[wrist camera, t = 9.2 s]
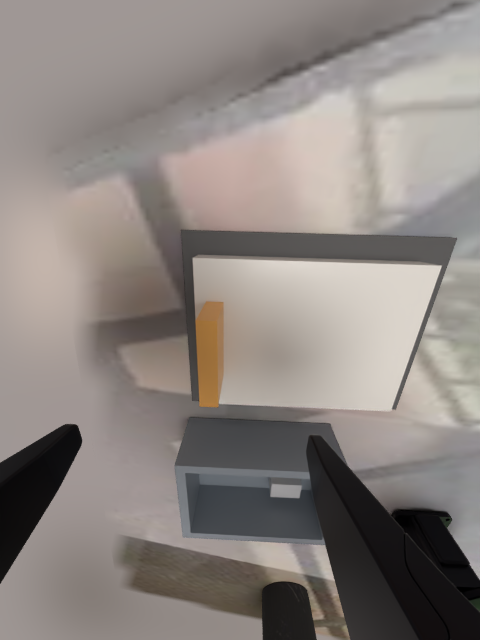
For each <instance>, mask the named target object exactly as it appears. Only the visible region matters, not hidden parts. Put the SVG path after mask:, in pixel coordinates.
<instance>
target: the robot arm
mask: <svg viewBox="0 0 480 640" xmlns="http://www.w3.org/2000/svg"><path fill="white" fill-rule="evenodd" d="M81 444H82V437H81V434H80V431H79V428H78V426H77V425H75V424H65V425H63V426H61V427H59V428H58V429H56V430H54V431H53V432H51V433H49V434H48V435H46V436H44V437H43V438H41V439H39V440H38V441H36V442H34V443H33V444H31V445H29V446H28V447H26V448H24V449H23V450H21V451H19V452H17V453H16V454H14V455H13V456H11V457H9V458H7V459H6V460H4V461H2V462H1V463H0V583H1V581H2V580H3V579H4V577H5V575H6V574H7V572H8V570H9V569H10V567H11V566H12V564H13V562H14V561H15V559H16V558H17V556H18V554H19V553H20V551H21V550H22V548H23V546H24V545H25V543H26V541H27V540H28V538H29V537H30V535H31V533H32V532H33V530H34V529H35V527H36V525H37V524H38V522H39V520H40V519H41V517H42V516H43V514H44V512H45V511H46V509H47V508H48V506H49V504H50V503H51V501H52V499H53V498H54V496H55V494H56V493H57V491H58V489H59V487H60V486H61V484H62V482H63V480H64V478H65V476H66V474H67V472H68V470H69V468H70V466H71V465H72V463H73V461H74V459H75V456H76V455H77V453H78V451H79V449H80V447H81ZM306 456H307V462H308V468H309V474H310V481H311V487H312V493H313V498H314V503H315V507H316V511H317V515H318V519H319V523H320V526H321V530H322V534H323V538H324V541H325V545H326V549H327V553H328V556H329V560H330V564H331V568H332V572H333V575H334V579H335V583H336V587H337V590H338V594H339V598H340V602H341V605H342V609H343V613H344V617H345V621H346V624H347V628H348V632H349V636H350V639H351V640H480V580H479V578H478V577H477V575H476V574H475V572H474V571H473V569H472V568H471V566H470V565H469V564H470V563H469V561H468V559H467V558H466V556H465V555H464V553H463V552H462V550H461V549H460V547H459V546H458V544H457V543H456V541H455V540H454V538H453V537H452V535H451V534H450V532H449V531H448V529H447V527H448V526H449V524H450V522H451V521H452V518H451V516H450V515H449V514H448V513H432V512H413V511H396V512H394V514H393V516H391V515H390V514H389V513H388V512H387V510H386V509H385V508H384V507H383V506H382V505H381V504H380V502H379V501H378V500H377V499H376V498H375V497H374V496H373V494H372V493H371V492H370V491H369V490H368V489H367V488H366V486H365V485H364V484H363V483H362V482H361V481H360V480H359V478H358V477H357V476H356V475H355V474H354V473H353V471H352V470H351V469H350V468H349V467H348V466H347V465H346V463H345V462H344V461H343V460H342V459H341V458H340V457H339V455H338V454H337V453H336V452H335V451H334V450H333V449H332V447H331V446H330V445H329V444H328V443H327V442H326V441H325V439H324V438H323V437H322V436H321V435H316V434H310V435H309V437H308V443H307V448H306Z"/></svg>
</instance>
